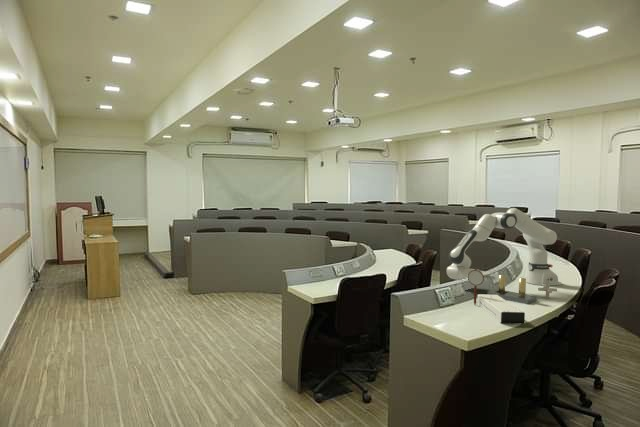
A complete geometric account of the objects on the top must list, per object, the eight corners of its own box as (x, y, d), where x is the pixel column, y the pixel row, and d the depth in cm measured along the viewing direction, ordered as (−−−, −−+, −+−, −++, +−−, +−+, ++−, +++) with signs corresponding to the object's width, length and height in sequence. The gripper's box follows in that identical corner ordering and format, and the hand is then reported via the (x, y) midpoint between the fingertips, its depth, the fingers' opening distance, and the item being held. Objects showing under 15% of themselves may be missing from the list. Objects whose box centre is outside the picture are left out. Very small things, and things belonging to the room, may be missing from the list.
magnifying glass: (466, 304, 233) (467, 269, 231) (467, 303, 234) (468, 269, 233) (482, 306, 228) (483, 271, 227) (483, 306, 229) (484, 270, 228)
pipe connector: (559, 300, 242) (559, 283, 242) (541, 299, 244) (541, 283, 244) (553, 296, 252) (553, 280, 251) (535, 295, 254) (536, 279, 253)
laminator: (477, 304, 233) (477, 294, 233) (499, 305, 232) (499, 294, 232) (501, 324, 199) (501, 311, 199) (526, 325, 199) (527, 312, 198)
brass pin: (502, 295, 253) (503, 274, 252) (506, 296, 249) (506, 275, 249) (497, 295, 253) (497, 274, 252) (500, 297, 249) (501, 275, 248)
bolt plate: (487, 295, 252) (488, 275, 251) (496, 292, 260) (497, 272, 259) (528, 304, 234) (529, 281, 233) (536, 300, 242) (537, 278, 241)
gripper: (462, 272, 259) (483, 276, 248) (478, 268, 272) (498, 272, 262) (462, 282, 259) (483, 286, 249) (477, 278, 273) (498, 281, 262)
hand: (491, 279), depth 255 cm, fingers open, 8 cm apart
